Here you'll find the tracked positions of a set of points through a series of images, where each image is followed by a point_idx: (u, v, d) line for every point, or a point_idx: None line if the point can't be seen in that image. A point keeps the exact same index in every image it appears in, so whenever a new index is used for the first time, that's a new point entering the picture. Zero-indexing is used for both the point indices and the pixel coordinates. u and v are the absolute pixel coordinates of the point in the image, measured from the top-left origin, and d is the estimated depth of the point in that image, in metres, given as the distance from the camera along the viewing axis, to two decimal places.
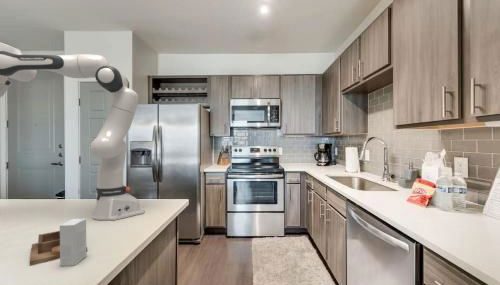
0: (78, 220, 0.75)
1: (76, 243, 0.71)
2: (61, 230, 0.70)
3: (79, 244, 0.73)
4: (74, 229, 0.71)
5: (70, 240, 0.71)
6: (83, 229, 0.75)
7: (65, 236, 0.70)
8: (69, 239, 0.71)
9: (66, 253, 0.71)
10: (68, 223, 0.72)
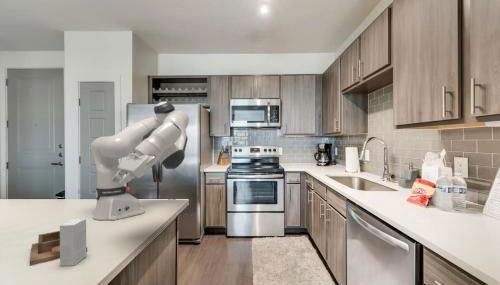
0: (78, 220, 0.75)
1: (76, 243, 0.71)
2: (61, 230, 0.70)
3: (79, 244, 0.73)
4: (74, 229, 0.71)
5: (70, 240, 0.71)
6: (83, 229, 0.75)
7: (65, 236, 0.70)
8: (69, 239, 0.71)
9: (66, 253, 0.71)
10: (68, 223, 0.72)
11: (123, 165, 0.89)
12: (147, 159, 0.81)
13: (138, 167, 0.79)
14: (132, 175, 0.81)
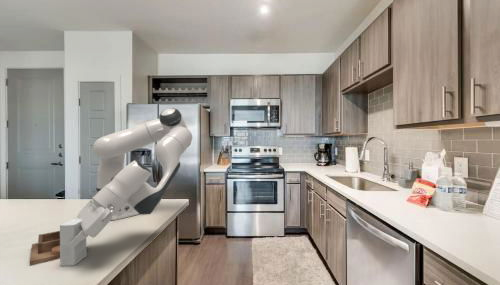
0: (78, 220, 0.75)
1: None
2: (61, 230, 0.70)
3: (79, 243, 0.73)
4: (74, 229, 0.71)
5: (70, 240, 0.71)
6: None
7: (65, 236, 0.70)
8: (69, 239, 0.71)
9: (66, 253, 0.71)
10: (68, 223, 0.72)
11: (81, 215, 0.78)
12: (103, 215, 0.70)
13: (91, 227, 0.68)
14: (85, 233, 0.70)
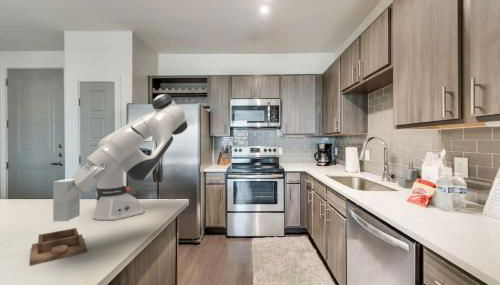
0: (72, 179, 0.76)
1: (69, 200, 0.73)
2: (55, 186, 0.72)
3: (72, 201, 0.75)
4: (67, 185, 0.72)
5: None
6: None
7: (58, 192, 0.72)
8: (62, 195, 0.72)
9: (59, 209, 0.72)
10: (62, 180, 0.74)
11: (75, 176, 0.80)
12: (95, 171, 0.72)
13: (83, 181, 0.70)
14: (78, 189, 0.72)
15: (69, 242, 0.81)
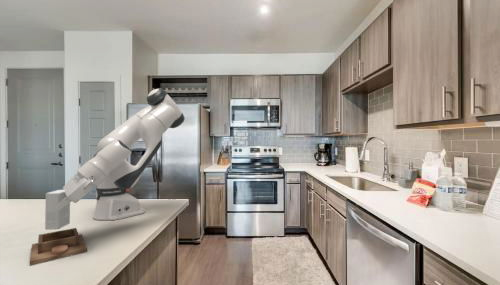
0: (63, 190, 0.84)
1: (60, 210, 0.80)
2: (47, 197, 0.79)
3: (63, 211, 0.82)
4: (58, 196, 0.80)
5: (54, 206, 0.80)
6: None
7: (50, 203, 0.79)
8: (53, 205, 0.80)
9: (50, 218, 0.79)
10: (53, 192, 0.81)
11: (66, 187, 0.87)
12: (84, 183, 0.80)
13: (73, 193, 0.77)
14: (69, 199, 0.80)
15: (69, 242, 0.81)
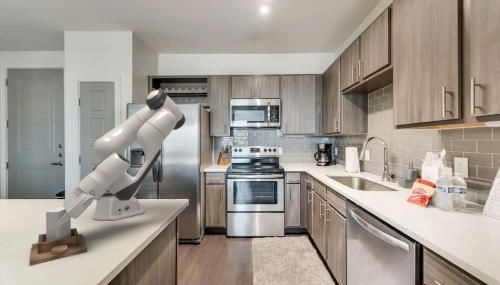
0: (63, 208, 0.84)
1: (60, 228, 0.81)
2: (47, 216, 0.80)
3: (64, 228, 0.83)
4: (58, 215, 0.80)
5: (55, 225, 0.80)
6: None
7: (51, 221, 0.80)
8: (54, 224, 0.80)
9: (51, 236, 0.80)
10: (54, 210, 0.81)
11: (66, 201, 0.88)
12: (84, 199, 0.80)
13: (73, 209, 0.77)
14: (69, 215, 0.80)
15: (69, 242, 0.81)
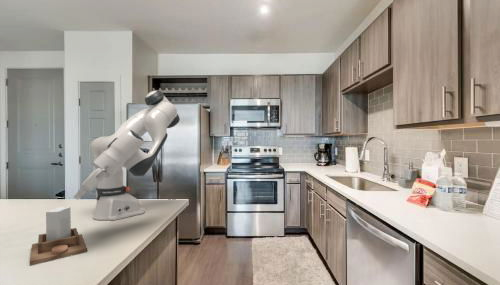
0: (63, 208, 0.84)
1: (60, 228, 0.81)
2: (47, 216, 0.80)
3: (64, 228, 0.83)
4: (58, 215, 0.80)
5: (55, 225, 0.80)
6: (67, 216, 0.84)
7: (51, 221, 0.80)
8: (54, 224, 0.80)
9: (51, 236, 0.80)
10: (54, 210, 0.81)
11: None
12: (97, 172, 0.82)
13: (86, 181, 0.80)
14: (85, 188, 0.83)
15: (69, 242, 0.81)
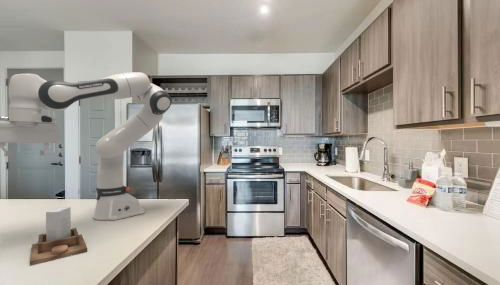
0: (63, 208, 0.84)
1: (60, 228, 0.81)
2: (47, 216, 0.80)
3: (64, 228, 0.83)
4: (58, 215, 0.80)
5: (55, 225, 0.80)
6: (67, 216, 0.84)
7: (51, 221, 0.80)
8: (54, 224, 0.80)
9: (51, 236, 0.80)
10: (54, 210, 0.81)
11: None
12: None
13: None
14: None
15: (69, 242, 0.81)
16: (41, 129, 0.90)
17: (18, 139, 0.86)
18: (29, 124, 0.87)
